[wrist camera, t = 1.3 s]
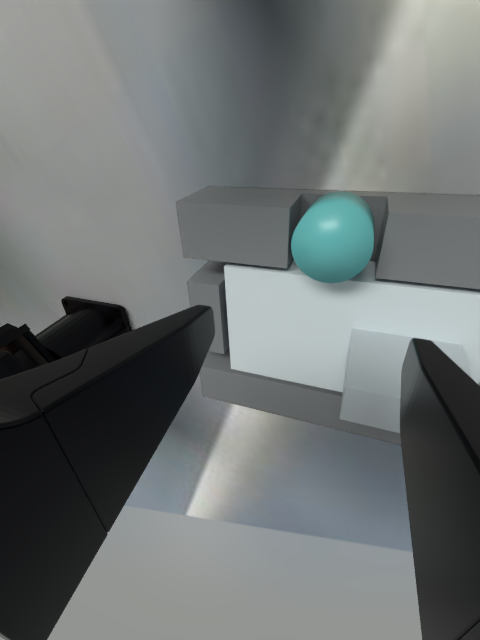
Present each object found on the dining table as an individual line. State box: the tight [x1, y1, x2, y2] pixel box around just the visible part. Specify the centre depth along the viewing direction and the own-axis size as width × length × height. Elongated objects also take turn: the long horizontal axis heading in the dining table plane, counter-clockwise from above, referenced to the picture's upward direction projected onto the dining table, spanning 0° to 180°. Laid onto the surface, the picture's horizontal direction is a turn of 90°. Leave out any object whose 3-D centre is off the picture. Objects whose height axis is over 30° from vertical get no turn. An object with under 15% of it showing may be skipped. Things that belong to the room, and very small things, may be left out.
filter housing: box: [176, 186, 480, 445], centre depth 20 cm, size 16×14×4 cm
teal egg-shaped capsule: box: [291, 191, 374, 283], centre depth 15 cm, size 3×3×3 cm
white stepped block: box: [224, 258, 480, 433], centre depth 17 cm, size 14×7×7 cm, turn 93°
